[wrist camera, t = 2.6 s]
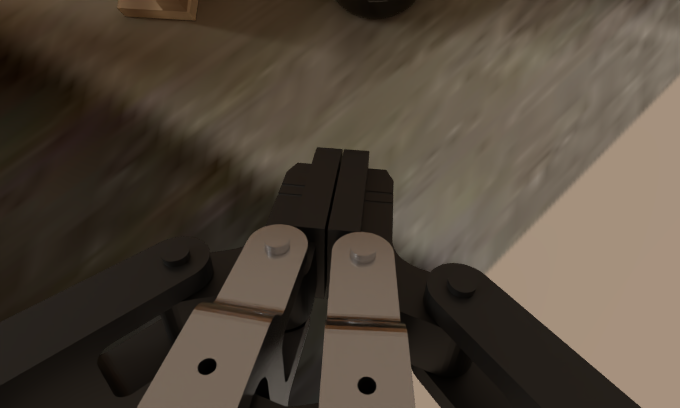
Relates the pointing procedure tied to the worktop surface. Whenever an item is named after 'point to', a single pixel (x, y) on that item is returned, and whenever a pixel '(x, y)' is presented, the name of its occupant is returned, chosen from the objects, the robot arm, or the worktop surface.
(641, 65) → the worktop surface
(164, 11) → the oak screen
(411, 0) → the supplement bottle
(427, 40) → the worktop surface
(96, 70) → the worktop surface
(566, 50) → the worktop surface
